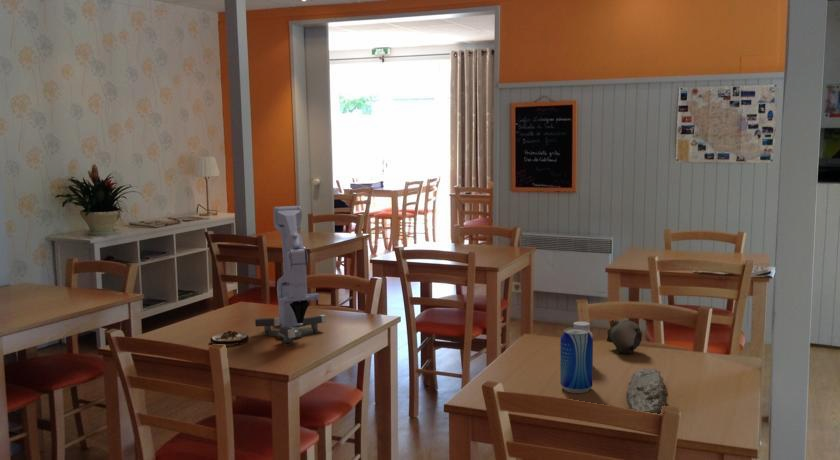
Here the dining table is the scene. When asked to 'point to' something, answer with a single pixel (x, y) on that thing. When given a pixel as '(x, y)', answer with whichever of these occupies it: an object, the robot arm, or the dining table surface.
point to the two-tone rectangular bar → (287, 333)
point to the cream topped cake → (230, 338)
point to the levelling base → (298, 333)
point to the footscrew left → (314, 321)
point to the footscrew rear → (267, 323)
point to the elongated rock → (646, 391)
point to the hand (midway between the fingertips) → (300, 322)
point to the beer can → (576, 360)
